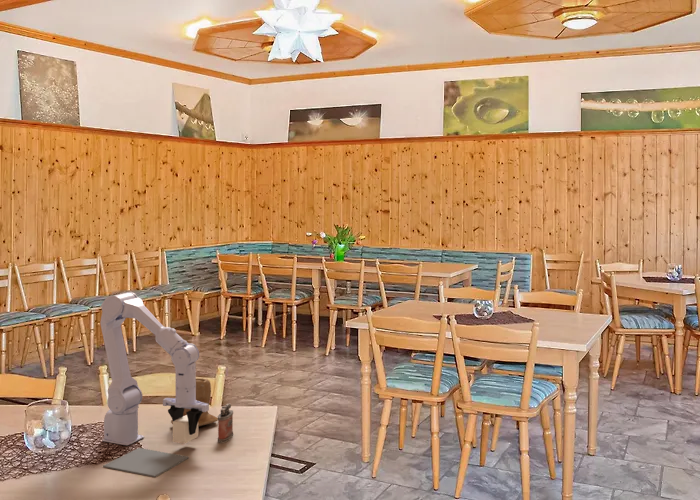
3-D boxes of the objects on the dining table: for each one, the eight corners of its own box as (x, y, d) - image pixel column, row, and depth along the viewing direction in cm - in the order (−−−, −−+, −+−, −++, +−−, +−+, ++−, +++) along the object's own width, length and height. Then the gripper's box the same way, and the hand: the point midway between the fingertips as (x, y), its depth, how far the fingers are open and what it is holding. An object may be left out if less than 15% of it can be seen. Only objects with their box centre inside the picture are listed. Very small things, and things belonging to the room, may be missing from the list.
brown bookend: (202, 416, 238) (202, 371, 237) (222, 424, 230) (223, 378, 229) (161, 425, 228) (161, 379, 227) (181, 435, 219) (181, 387, 218)
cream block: (172, 441, 206) (172, 421, 205) (186, 434, 212) (186, 414, 212) (184, 443, 204) (184, 423, 204) (198, 436, 211) (198, 416, 210)
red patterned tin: (225, 442, 213) (225, 410, 212) (215, 442, 214) (215, 409, 213) (235, 434, 221) (235, 402, 220) (225, 433, 222) (225, 401, 221)
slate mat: (103, 467, 193) (103, 465, 193) (139, 449, 207) (139, 447, 207) (155, 477, 187) (155, 475, 187) (188, 458, 200) (188, 456, 200)
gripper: (156, 387, 206) (156, 433, 207) (199, 393, 201) (199, 440, 202) (171, 381, 213) (171, 426, 214) (212, 387, 207) (212, 432, 208)
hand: (185, 432), depth 208 cm, fingers closed on cream block, 4 cm apart
